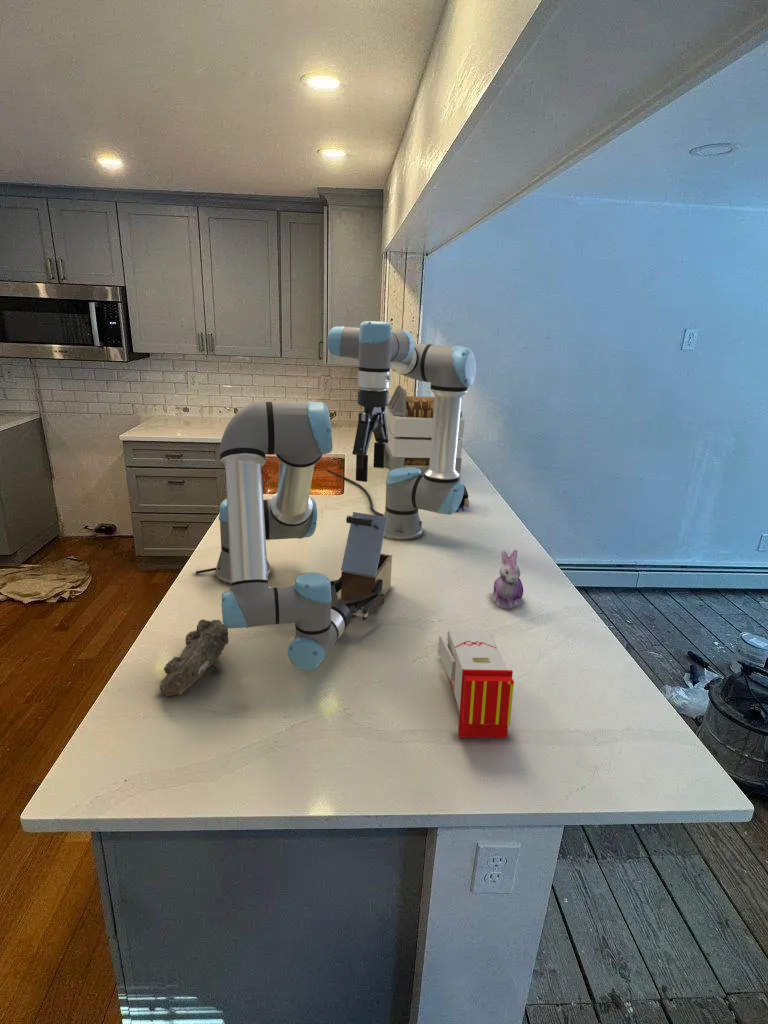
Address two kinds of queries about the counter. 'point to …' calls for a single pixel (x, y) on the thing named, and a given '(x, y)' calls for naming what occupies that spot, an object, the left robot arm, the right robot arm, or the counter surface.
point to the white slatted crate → (412, 431)
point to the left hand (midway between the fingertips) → (363, 580)
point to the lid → (364, 543)
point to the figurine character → (464, 500)
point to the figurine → (508, 583)
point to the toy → (478, 682)
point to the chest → (366, 580)
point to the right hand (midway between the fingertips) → (370, 474)
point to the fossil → (195, 657)
